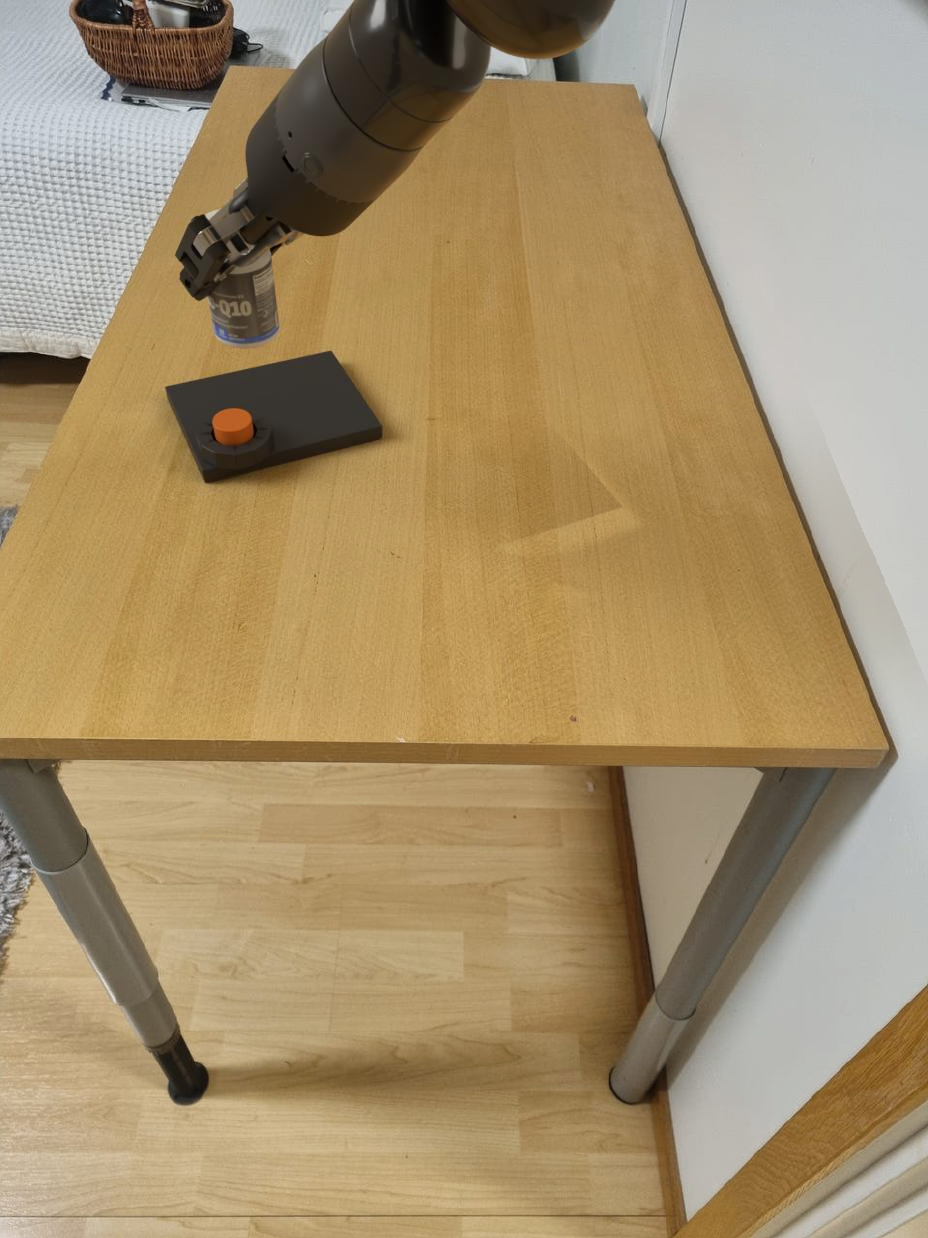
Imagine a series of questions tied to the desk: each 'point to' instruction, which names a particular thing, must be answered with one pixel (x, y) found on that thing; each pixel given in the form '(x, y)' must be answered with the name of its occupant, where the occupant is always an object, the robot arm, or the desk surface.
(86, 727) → the desk surface
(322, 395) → the black flat block
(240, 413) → the button
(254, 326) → the pill bottle
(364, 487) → the desk surface
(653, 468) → the desk surface
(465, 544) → the desk surface
